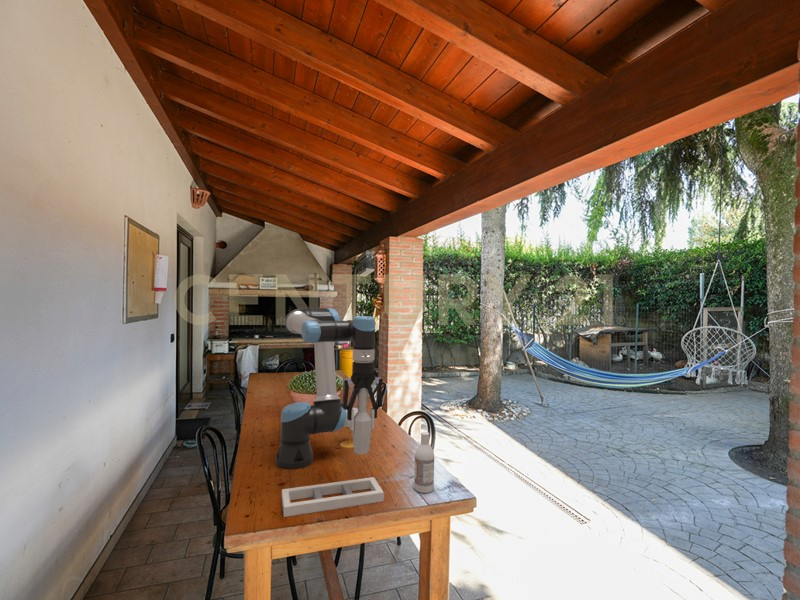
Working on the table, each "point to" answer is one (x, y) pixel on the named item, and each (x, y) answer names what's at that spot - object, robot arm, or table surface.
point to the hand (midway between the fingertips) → (361, 428)
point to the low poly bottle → (362, 425)
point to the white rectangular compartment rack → (331, 502)
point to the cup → (347, 424)
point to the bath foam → (424, 466)
